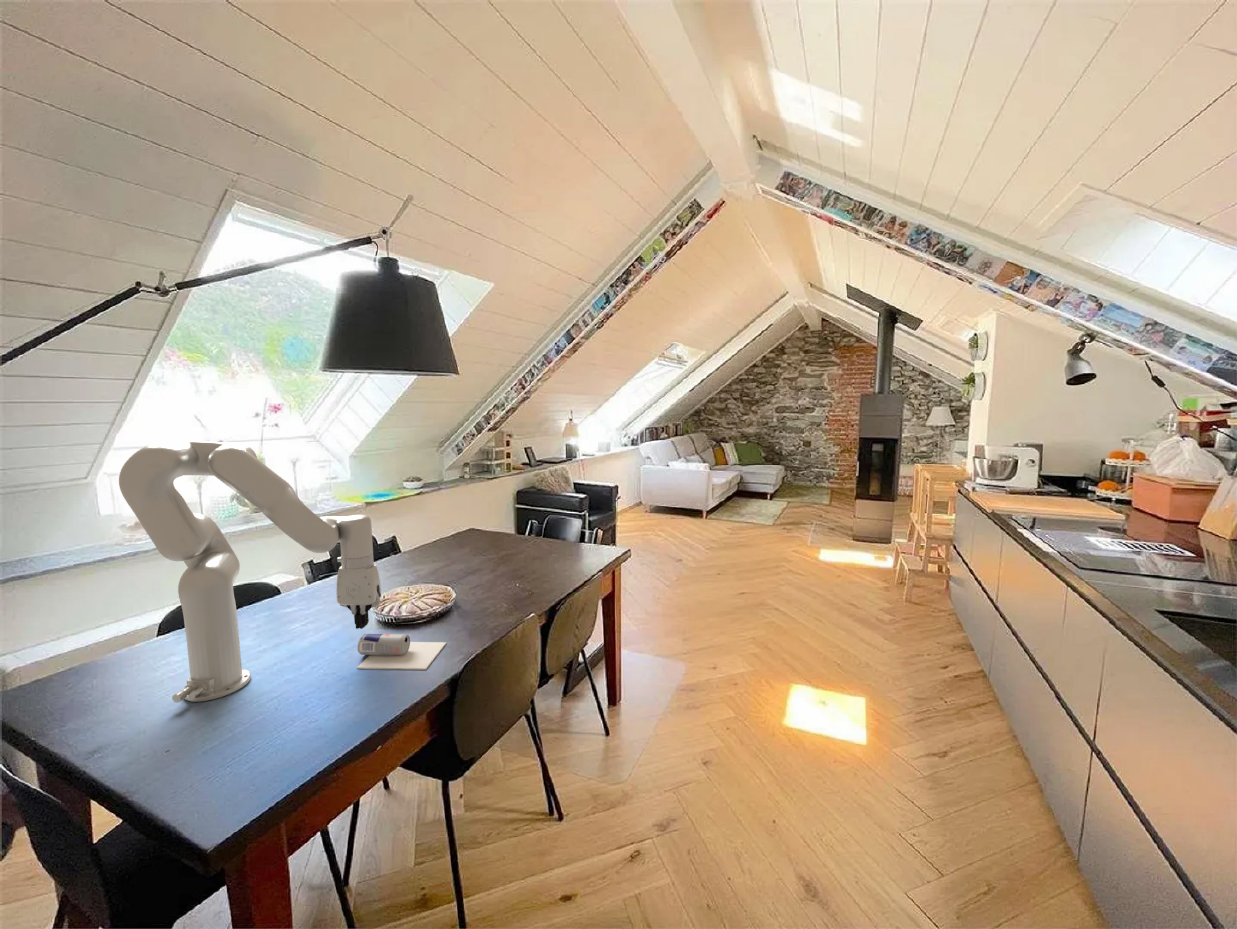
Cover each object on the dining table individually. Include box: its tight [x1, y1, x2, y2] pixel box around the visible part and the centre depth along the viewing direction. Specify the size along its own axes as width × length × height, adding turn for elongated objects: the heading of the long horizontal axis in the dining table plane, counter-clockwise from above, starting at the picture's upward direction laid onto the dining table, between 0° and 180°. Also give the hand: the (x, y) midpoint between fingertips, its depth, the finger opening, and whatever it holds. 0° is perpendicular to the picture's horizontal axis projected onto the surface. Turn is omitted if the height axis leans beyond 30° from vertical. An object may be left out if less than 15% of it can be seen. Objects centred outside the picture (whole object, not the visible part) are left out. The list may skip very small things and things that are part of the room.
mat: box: [356, 641, 447, 671], centre depth 132 cm, size 14×18×1 cm
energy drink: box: [357, 633, 411, 656], centre depth 131 cm, size 5×5×12 cm
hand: (361, 626), depth 131 cm, fingers closed
